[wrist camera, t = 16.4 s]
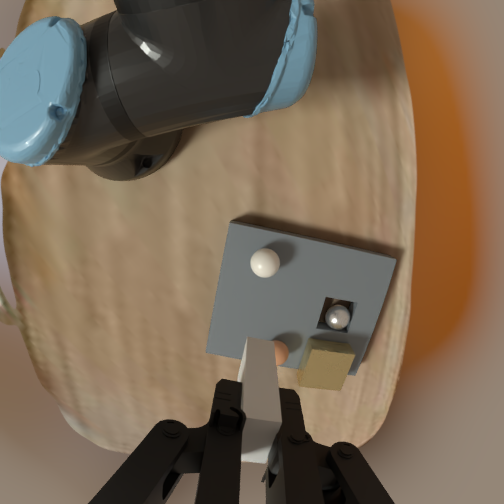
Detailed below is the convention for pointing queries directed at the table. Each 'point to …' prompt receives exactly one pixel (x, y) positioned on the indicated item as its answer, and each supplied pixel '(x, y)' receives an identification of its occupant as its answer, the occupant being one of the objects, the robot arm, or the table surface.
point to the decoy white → (265, 262)
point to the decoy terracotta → (280, 352)
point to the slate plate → (295, 293)
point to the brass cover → (324, 364)
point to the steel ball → (337, 317)
